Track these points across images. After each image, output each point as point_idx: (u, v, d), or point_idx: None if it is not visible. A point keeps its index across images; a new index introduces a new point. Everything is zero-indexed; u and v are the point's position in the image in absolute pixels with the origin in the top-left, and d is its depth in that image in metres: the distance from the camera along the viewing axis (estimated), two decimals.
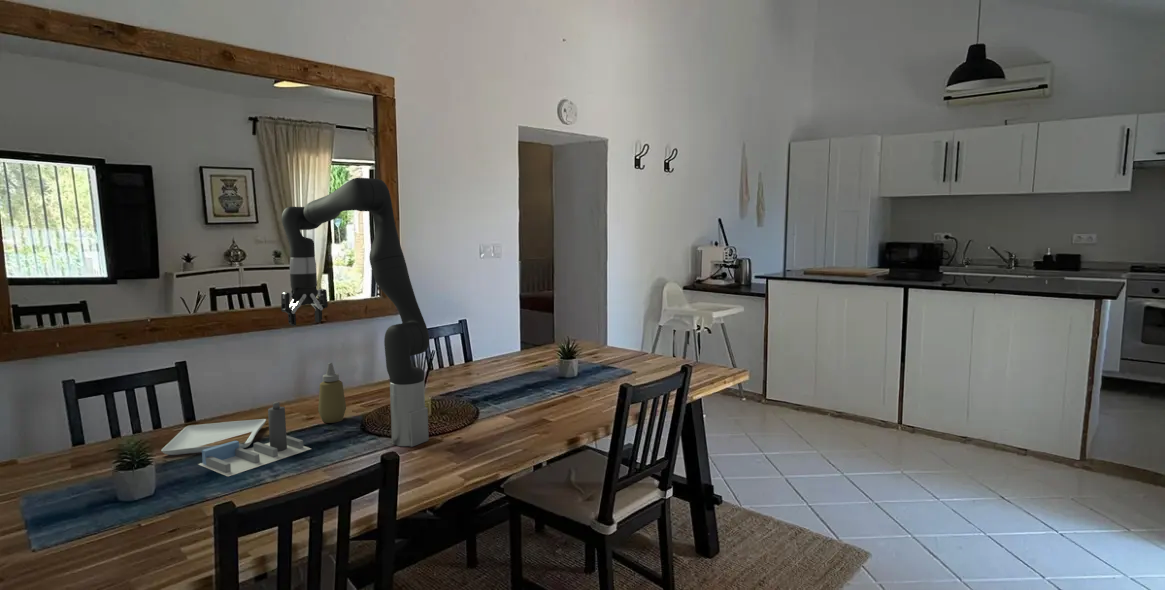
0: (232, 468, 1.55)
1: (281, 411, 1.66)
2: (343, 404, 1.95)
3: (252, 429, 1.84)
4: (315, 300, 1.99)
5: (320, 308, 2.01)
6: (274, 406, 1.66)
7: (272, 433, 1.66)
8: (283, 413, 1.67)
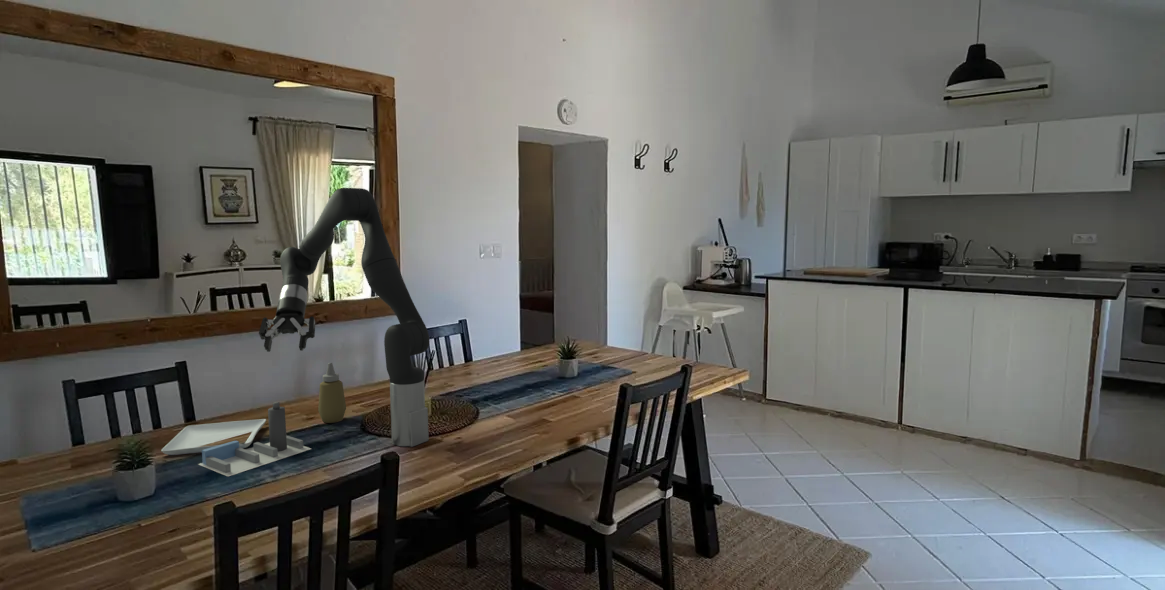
0: (232, 468, 1.55)
1: (281, 411, 1.66)
2: (343, 404, 1.95)
3: (252, 429, 1.84)
4: (296, 324, 1.80)
5: (302, 333, 1.80)
6: (274, 406, 1.66)
7: (272, 433, 1.66)
8: (283, 413, 1.67)
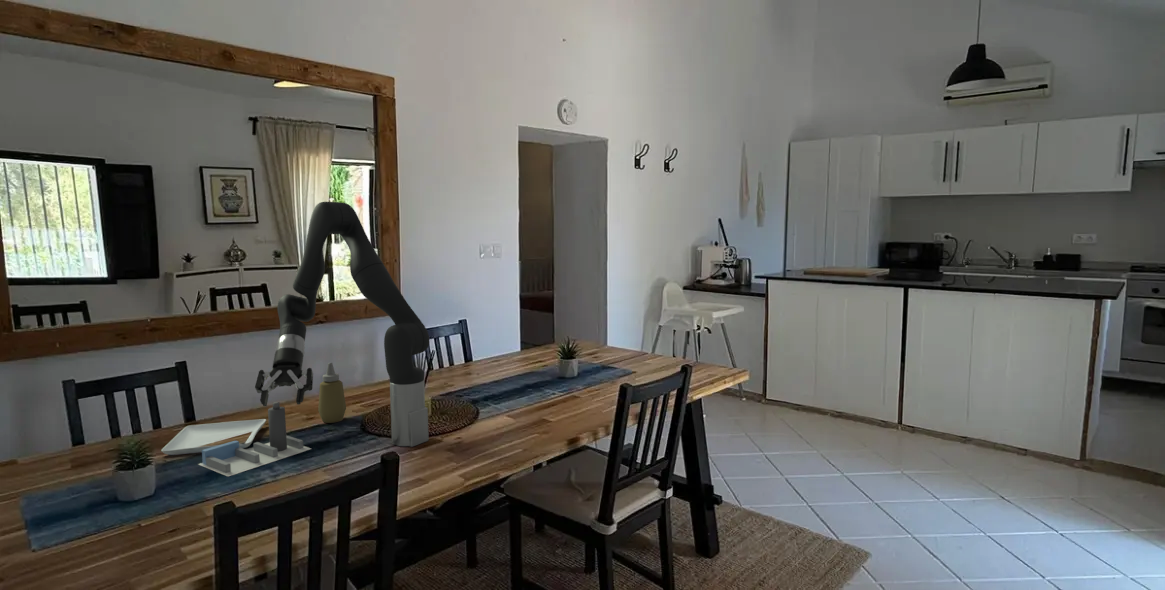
0: (232, 468, 1.55)
1: (281, 411, 1.66)
2: (343, 404, 1.95)
3: (252, 429, 1.84)
4: (293, 377, 1.76)
5: (300, 386, 1.75)
6: (274, 406, 1.66)
7: (272, 433, 1.66)
8: (283, 413, 1.67)
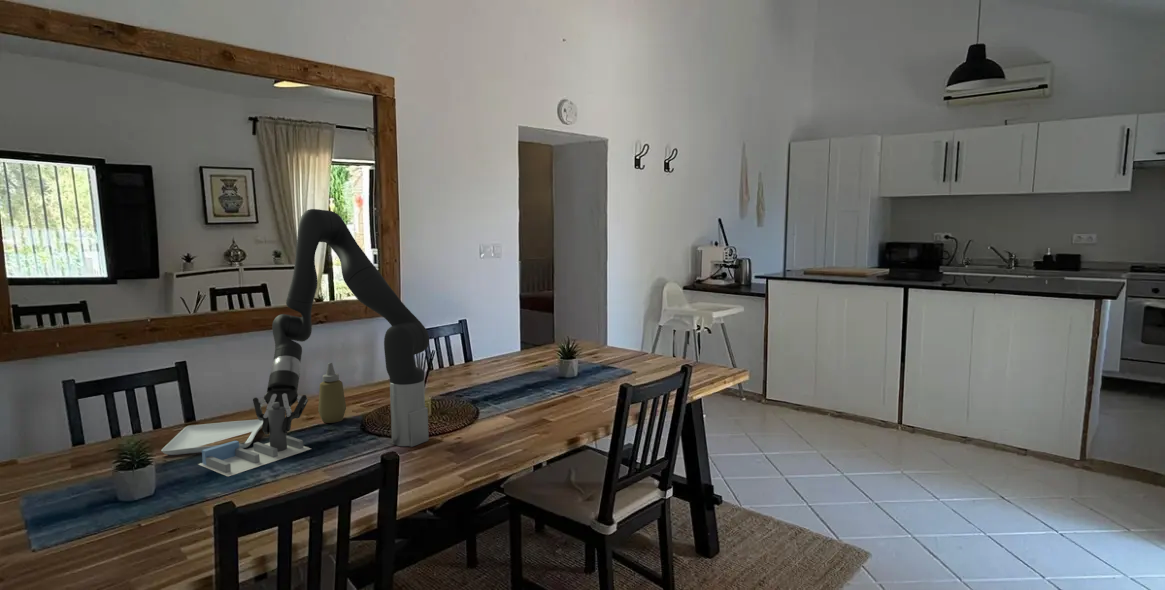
0: (232, 468, 1.55)
1: (281, 411, 1.66)
2: (343, 404, 1.95)
3: (252, 429, 1.84)
4: (285, 402, 1.70)
5: (287, 414, 1.68)
6: (274, 406, 1.66)
7: (272, 433, 1.66)
8: (283, 413, 1.67)
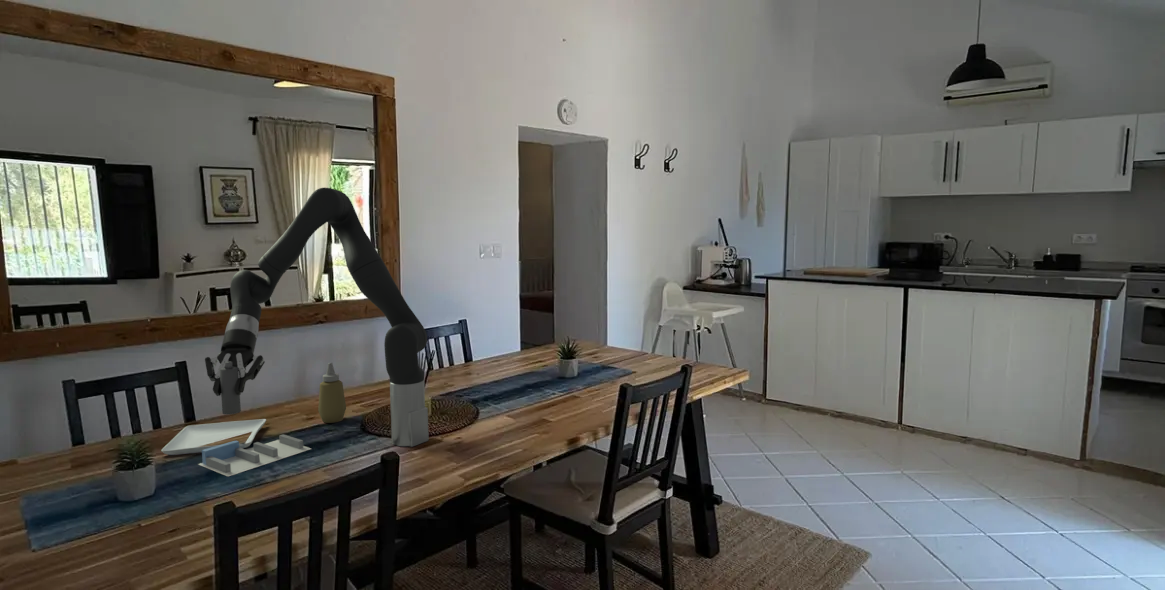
0: (232, 468, 1.55)
1: (234, 371, 1.56)
2: (343, 404, 1.95)
3: (252, 429, 1.84)
4: (239, 362, 1.59)
5: (240, 375, 1.57)
6: (226, 365, 1.56)
7: (224, 395, 1.55)
8: (236, 373, 1.56)
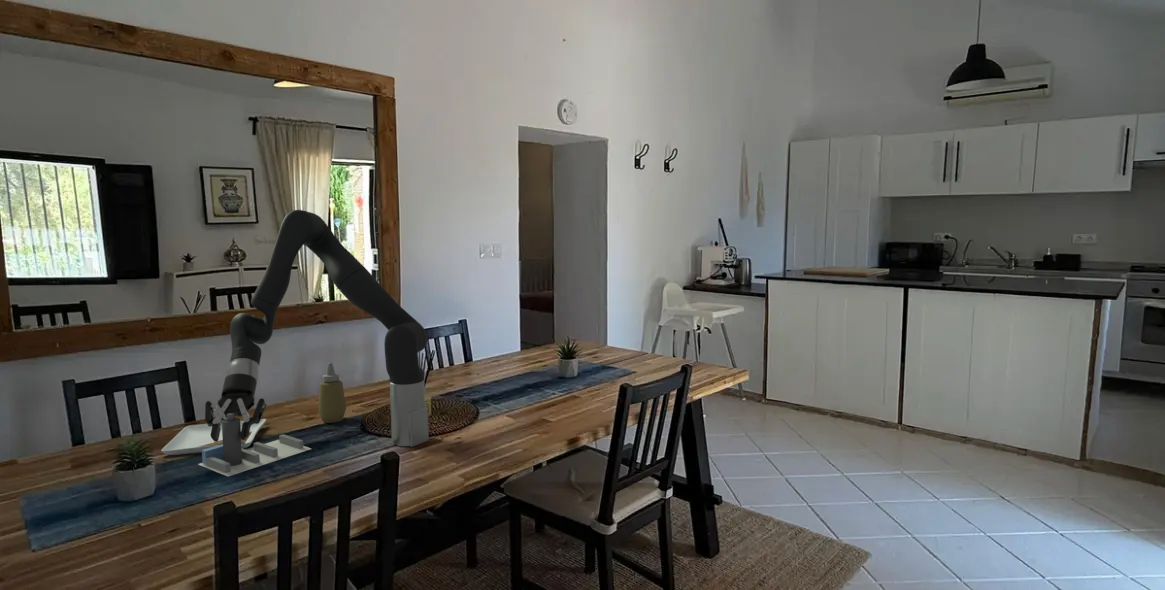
0: (232, 468, 1.55)
1: (236, 423, 1.56)
2: (343, 404, 1.95)
3: (252, 429, 1.84)
4: (242, 407, 1.60)
5: (245, 419, 1.58)
6: (228, 418, 1.56)
7: (226, 447, 1.56)
8: (238, 425, 1.57)
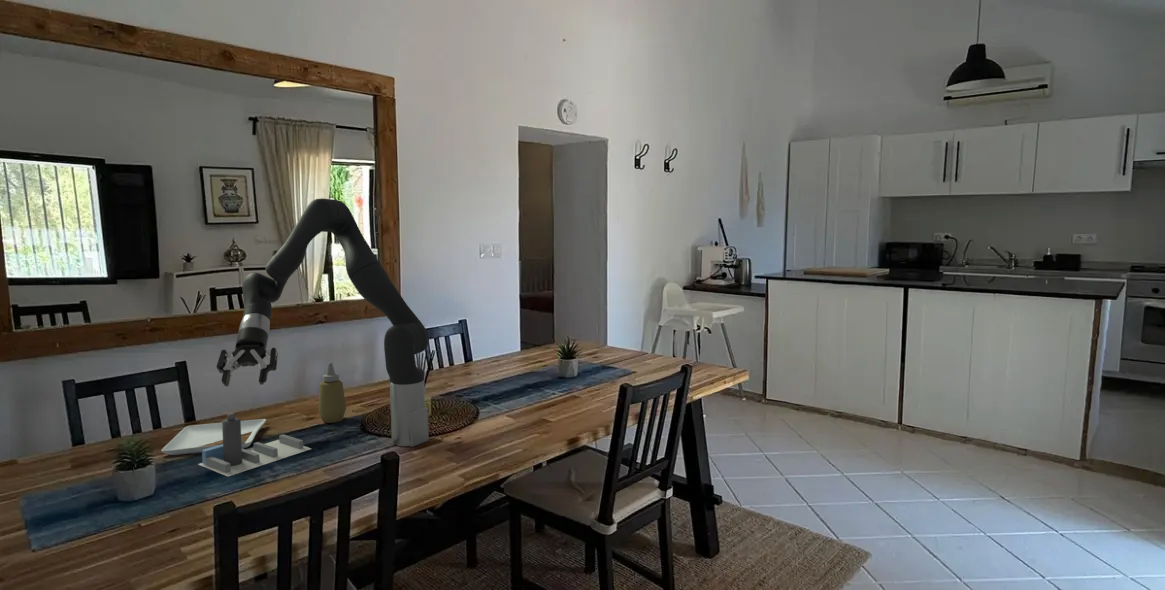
0: (232, 468, 1.55)
1: (236, 423, 1.56)
2: (343, 404, 1.95)
3: (252, 429, 1.84)
4: (256, 357, 1.71)
5: (263, 366, 1.70)
6: (229, 418, 1.56)
7: (226, 447, 1.56)
8: (238, 425, 1.57)
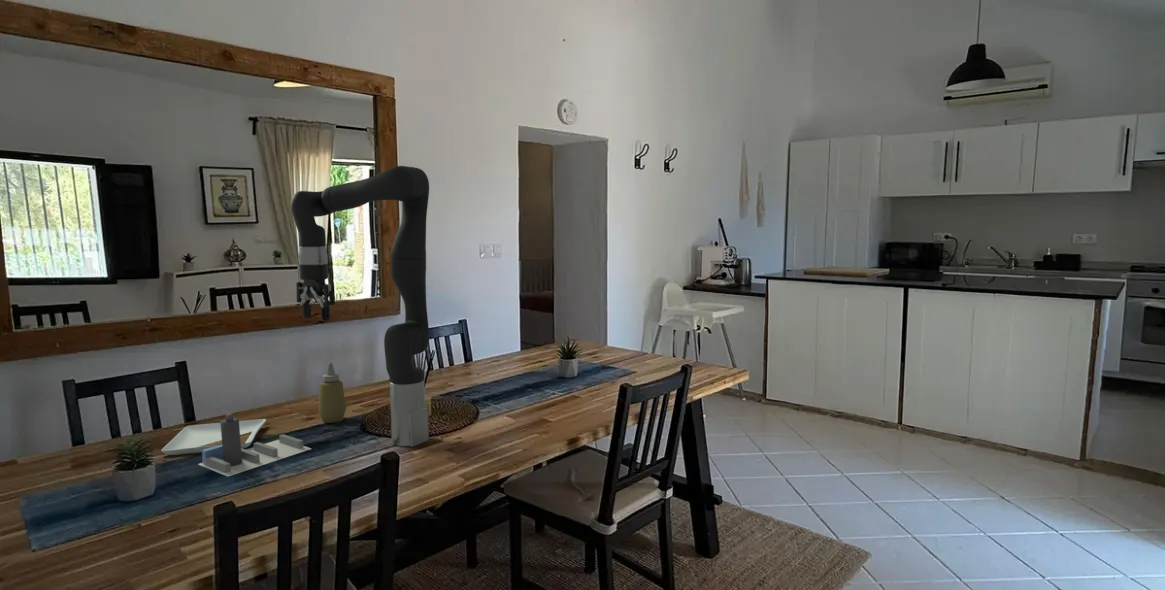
0: (232, 468, 1.55)
1: (235, 423, 1.56)
2: (343, 404, 1.95)
3: (252, 429, 1.84)
4: (315, 295, 1.78)
5: (321, 305, 1.78)
6: (227, 418, 1.56)
7: (226, 447, 1.56)
8: (237, 425, 1.57)
